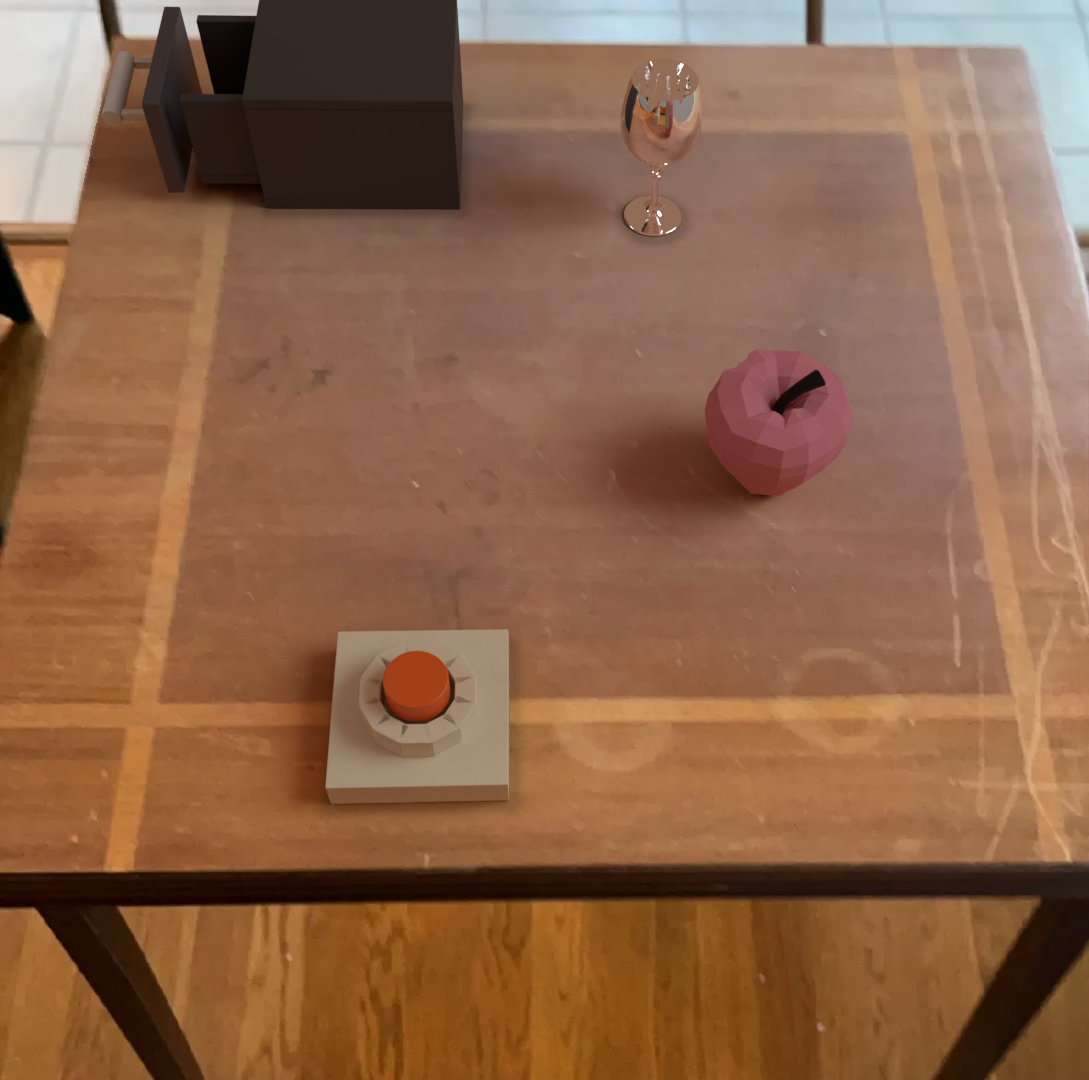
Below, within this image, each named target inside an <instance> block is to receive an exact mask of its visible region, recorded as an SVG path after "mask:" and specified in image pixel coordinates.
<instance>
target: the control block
mask: <svg viewBox="0 0 1089 1080" xmlns="http://www.w3.org/2000/svg"><path fill="white" fill-rule="evenodd" d="M509 634H510V633H509V629H506V628H503V629H435V630H434V629H431V630H429V629H427V630H425V629H424V630H423V629H422V630H420V629H419V630H366V631H365V630H358V631H357V630H356V631H355V630H354V631H353V630H351V631H337V637H336V638H337V639H336V650H335V662H334V675H333V685H332V686H333V687H332V697H331V698H332V699H331V711H330V723H329V735H328V749H327V760H326V774H325V785H324V788H325V791H326V794H327V797H328V800H329V803H330V804H331V805H342V804H343V805H344V804H347V805H349V804H392V803H393V804H395V803H396V804H397V803H400V804H401V803H438V802H439V803H442V802H443V803H444V802H447V803H448V802H487V801H488V802H491V801H497V802H498V801H510V639H509V638H510V637H509ZM410 651H424V652H428V653H431V654H433V655H435V656H437V657H438V658H439V659H440V660H441V661H442V662H443V663H444V664H445V666H446V668H447V671H448V675H449V683H450V698H449V701H448V704H447V705H446V707H445V708H444V709H443V711H442V712H441V713H439V714H438V715H437V716H435V717H433V718H431V719H429V720H426V721H420V722H412V721H407V720H404V719H402V718H400V717H398V716H397V715H395V714H394V713H393V712H392V711H391V709H390V708H389V706H388V704H387V701H386V697H385V692H384V688H383V675H384V672H385V670H386V668H387V666H388V665H389V664H390V662H391V661H392V660H393V659H395V658H396V657H398V656H399V655H401V654H404V653H406V652H410Z"/></svg>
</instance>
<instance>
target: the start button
mask: <svg viewBox="0 0 1089 1080" xmlns="http://www.w3.org/2000/svg"><path fill="white" fill-rule="evenodd" d="M383 688H384V692H385V697H386V701H387V704H388V706H389V708H390V709H391V711H392V712H393V713H394V714H395V715H397V716H398V717H400V718H402V719H404V720H407V721H412V722H420V721H426V720H429V719H431V718H433V717H435V716H437V715H438V714H439V713H441V712H442V711H443V709H444V708H445V707H446V705H447V704H448V701H449V698H450V683H449V675H448V671H447V668H446V666H445V664H444V663H443V662H442V661H441V660H440V659H439V658H438V657H437V656H435V655H433V654H431V653H428V652H424V651H410V652H406V653H404V654H401V655H399V656H398V657H396V658H395V659H393V660H392V661H391V662H390V664H389V665H388V666H387V668H386V670H385V672H384V675H383Z"/></svg>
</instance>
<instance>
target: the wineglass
mask: <svg viewBox="0 0 1089 1080" xmlns="http://www.w3.org/2000/svg"><path fill="white" fill-rule="evenodd" d="M702 126H703V101H702V92H701V86H700V81H699V77H698V74H697V73H696V71H695V70H694V69H693V68H692V67H690V66H689V65H687V64H686V63H683V62H681V61H679V60H676V59H675V60H674V59H671V58H655V59H650V60H647V61H644V62H642V63H640V64H639V65H638V66H636V67H635V68H634V70H633V71H632V73H631V77H630V79H629V82H628V84H627V88H626V91H625V94H624V98H623V103H622V107H621V113H620V130H621V137H622V140H623V143H624V145H625V147H626V148H627V150H628V152H630V154H631V155H632V156H633V157H634V158H636V159H637V160H639V161H640V162H641V163H645V164H647V165H650V166H649V168H650V174H651V179H652V181H651V182H652V186H651V187H652V189H651V195H650V194H649V195H642V196H638V197H636V198H634V199H632V200H631V201H630V202H628V204H627V205H626V206H625V208H624V210H623V218H624V219H623V220H624V221H625V223H626V225H627V226H628V227H629V228H630V229H631V230H632V231H634V232H636V233H638V234H640V235H643V236H648V237H661V236H666V235H669V234H671V233H673V232H674V231H676V230H677V229H678V228H679V227H680V226H681V223H682V221H683V219H682V218H683V215H682V211H681V209H680V207H679V206H678V205H677V204H676V203H675V202H674V201H672V199H668V198H667V197H663V196H661V195H659V185H660V181H661V178H662V176H663V174H664V171H665V166H666V167H667V166H670V165H675V164H677V163H679V162H682V161H683V160H684V159H686V158H687V157H688V156H689V155H690V154H691V153H692V152H693V151H694V150H695V148H696V146H697V144H698V142H699V140H700V136H701V132H702Z"/></svg>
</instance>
